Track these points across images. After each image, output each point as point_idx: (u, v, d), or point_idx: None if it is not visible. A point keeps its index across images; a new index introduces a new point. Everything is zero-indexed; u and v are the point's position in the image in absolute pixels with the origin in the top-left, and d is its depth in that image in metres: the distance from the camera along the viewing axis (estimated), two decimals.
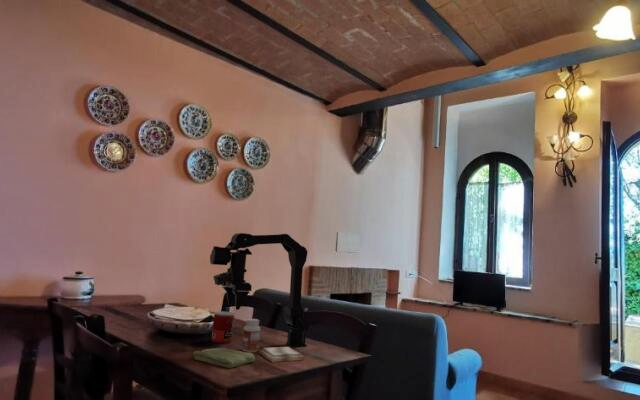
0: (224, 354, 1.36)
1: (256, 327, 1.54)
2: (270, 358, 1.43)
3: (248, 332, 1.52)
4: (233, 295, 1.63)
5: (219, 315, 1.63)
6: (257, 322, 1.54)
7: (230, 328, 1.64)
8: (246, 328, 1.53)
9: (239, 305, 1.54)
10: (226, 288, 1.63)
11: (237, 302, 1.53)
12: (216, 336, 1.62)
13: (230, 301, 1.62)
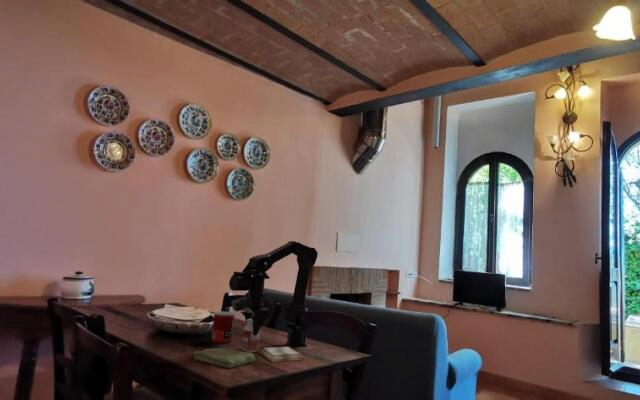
0: (224, 354, 1.36)
1: None
2: (270, 358, 1.43)
3: (248, 332, 1.52)
4: None
5: (219, 315, 1.63)
6: None
7: (230, 328, 1.64)
8: (246, 328, 1.53)
9: (257, 331, 1.52)
10: (245, 313, 1.58)
11: (255, 328, 1.51)
12: (216, 336, 1.62)
13: None
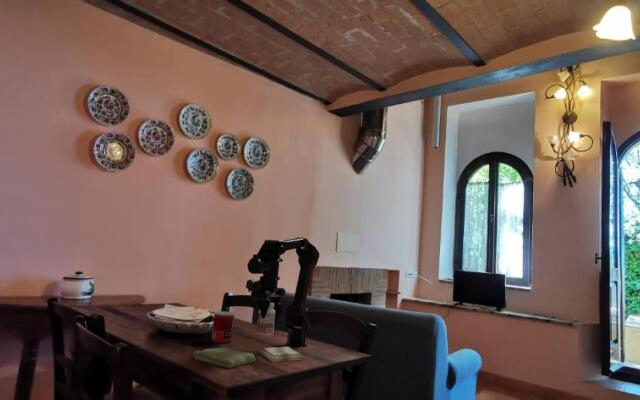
0: (224, 354, 1.36)
1: None
2: (270, 358, 1.43)
3: (259, 314, 1.52)
4: (274, 305, 1.57)
5: (219, 315, 1.63)
6: None
7: (230, 328, 1.64)
8: (259, 310, 1.54)
9: (263, 313, 1.50)
10: None
11: (261, 310, 1.50)
12: (216, 336, 1.62)
13: None
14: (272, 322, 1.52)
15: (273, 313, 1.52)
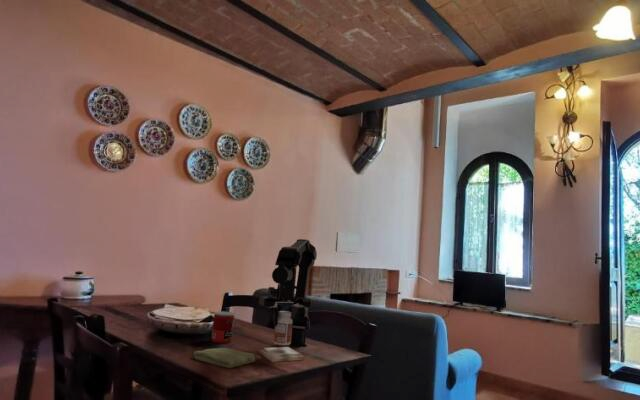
0: (224, 354, 1.36)
1: (279, 318, 1.49)
2: (270, 358, 1.43)
3: None
4: (294, 315, 1.52)
5: (219, 315, 1.63)
6: (280, 314, 1.49)
7: (230, 328, 1.64)
8: None
9: (274, 322, 1.49)
10: (292, 306, 1.55)
11: None
12: (216, 336, 1.62)
13: (292, 320, 1.52)
14: (284, 332, 1.48)
15: (285, 323, 1.48)
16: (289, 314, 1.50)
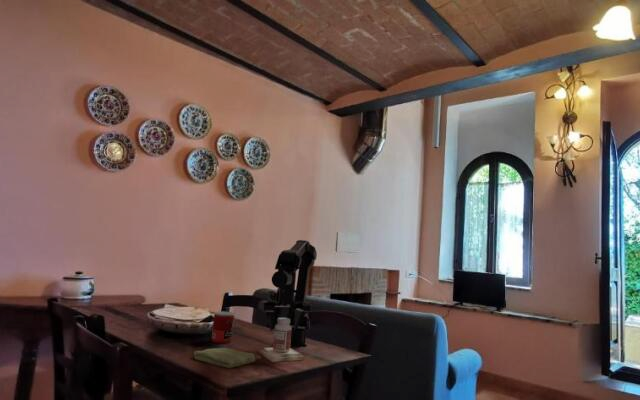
0: (224, 354, 1.36)
1: (278, 325, 1.49)
2: (270, 358, 1.43)
3: None
4: (297, 319, 1.52)
5: (219, 315, 1.63)
6: (279, 321, 1.49)
7: (230, 328, 1.64)
8: None
9: (270, 326, 1.48)
10: (295, 310, 1.55)
11: None
12: (216, 336, 1.62)
13: (295, 324, 1.53)
14: (283, 339, 1.47)
15: (284, 329, 1.48)
16: (288, 321, 1.50)
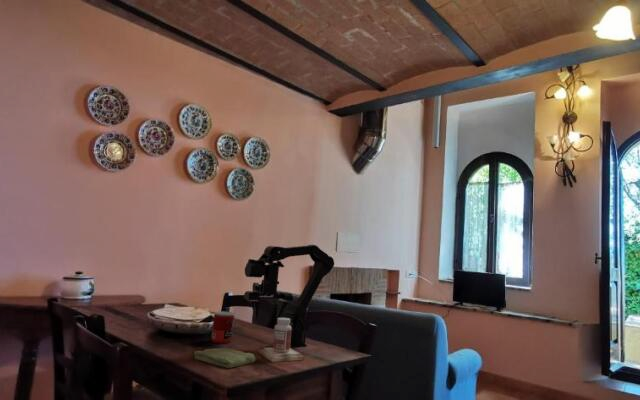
0: (224, 354, 1.36)
1: (278, 325, 1.49)
2: (270, 358, 1.43)
3: None
4: (279, 308, 1.65)
5: (219, 315, 1.63)
6: (279, 321, 1.49)
7: (230, 328, 1.64)
8: None
9: (254, 314, 1.61)
10: (278, 301, 1.68)
11: (253, 311, 1.61)
12: (216, 336, 1.62)
13: (277, 313, 1.66)
14: (283, 339, 1.47)
15: (284, 329, 1.48)
16: (288, 321, 1.50)
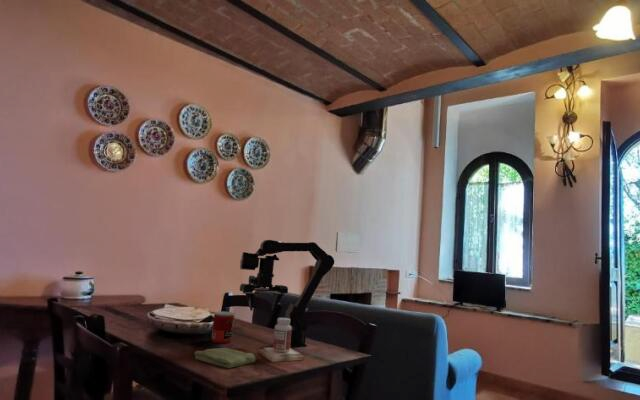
0: (224, 354, 1.36)
1: (278, 325, 1.49)
2: (270, 358, 1.43)
3: None
4: (275, 301, 1.69)
5: (219, 315, 1.63)
6: (279, 321, 1.49)
7: (230, 328, 1.64)
8: None
9: (250, 306, 1.64)
10: (273, 293, 1.72)
11: (249, 303, 1.65)
12: (216, 336, 1.62)
13: (272, 306, 1.69)
14: (283, 339, 1.47)
15: (284, 330, 1.48)
16: (288, 321, 1.50)
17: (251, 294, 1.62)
